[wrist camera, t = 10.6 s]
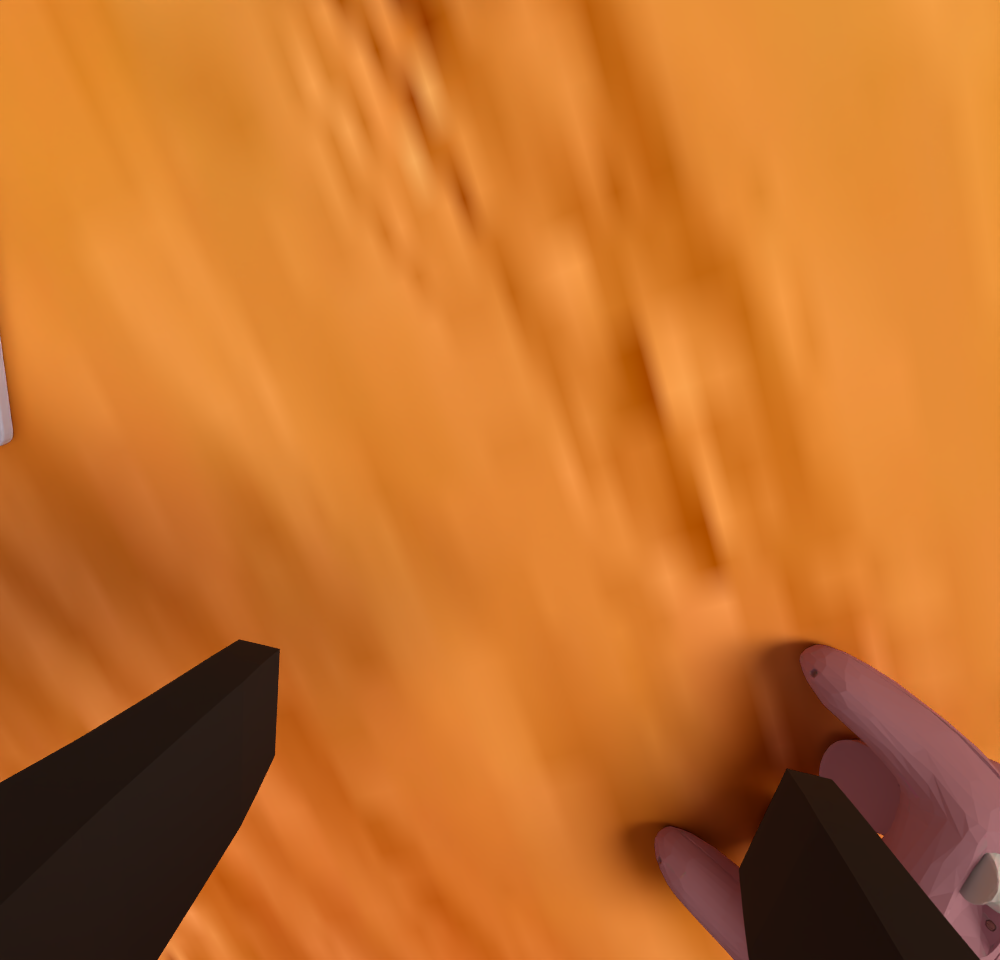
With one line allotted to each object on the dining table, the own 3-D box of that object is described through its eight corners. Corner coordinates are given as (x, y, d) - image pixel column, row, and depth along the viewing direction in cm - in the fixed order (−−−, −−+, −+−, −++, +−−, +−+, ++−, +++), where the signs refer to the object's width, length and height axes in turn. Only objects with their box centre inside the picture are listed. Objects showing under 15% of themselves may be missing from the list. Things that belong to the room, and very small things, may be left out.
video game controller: (730, 837, 24) (874, 1079, 18) (632, 842, 22) (761, 1118, 16) (901, 640, 20) (1155, 869, 14) (803, 624, 18) (1053, 886, 12)
